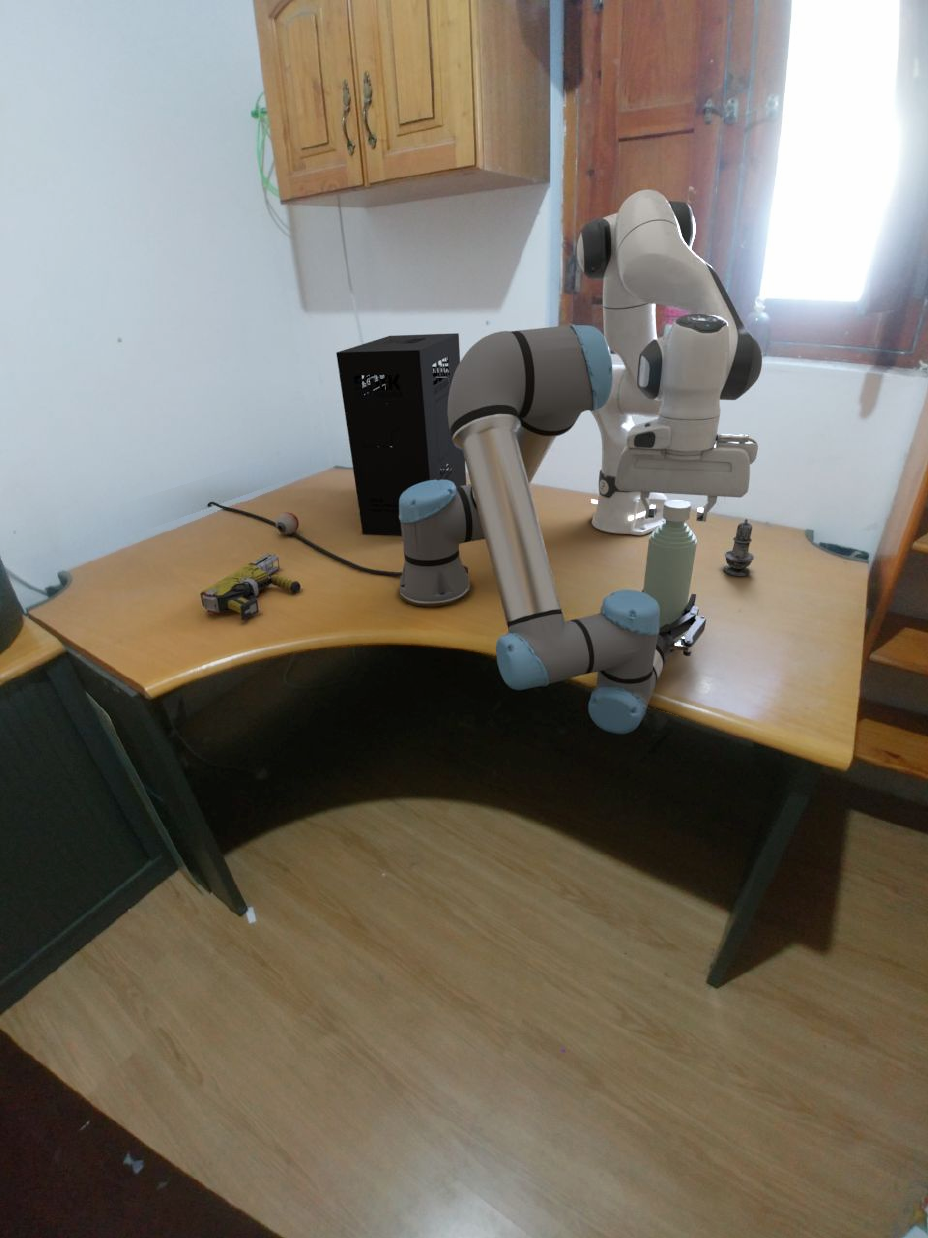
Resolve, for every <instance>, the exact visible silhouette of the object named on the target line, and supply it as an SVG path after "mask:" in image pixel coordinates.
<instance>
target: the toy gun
mask: <svg viewBox="0 0 928 1238" xmlns="http://www.w3.org/2000/svg"><path fill="white" fill-rule="evenodd" d="M275 562H277V564H278V565H277V566H276V565H274V563H275ZM280 568H281V567H280V558H279V556H278V555H277V554H272V553H270V552H269V553H267V554H265V555H263V556H261V557H260V558H258V559H257V560H255V561H253V562H250V563H248V564H246V565H244V566H243V567H240V568H239V569H238V570H236V571H234V572H233V573H231V574H229V575H228V576H226V577H223V579H221V580H218V581H217V582H216V583H214V584H212V585H210V586H209V587H207V588H205V589H204V590H202V591H201V592H200V594H199V595H200V599H201V604H202V607H203V608H204V610H206V612H207V613H211V614H212V615H213V614H214V615H215V614H216V613H220V614H222V613H228V612H231V611H234V612H237V613H239V614H240V615H241V620H243V621H245V620H247V619H249V618H251V617H252V616H254V615H257V614H259V612H260V609H259V602H258V599H257V597H258V596H259V594H260V592H259V591H261V590H263V589H265V588H267V587H269V586H270V585H274V586H277V587H278V588H282V589H285V590H286V591H290V592H292V593H294V594H295V593H298V592H299V591H300V590H301V584H300V582H299V581H297V580H292V579H288V578H287V577H284V576H280V575H279V574H274V573H275V572H276V571H277V570H279V569H280ZM271 574H274V575H273V576H271V577H270V576H269V575H271Z"/></svg>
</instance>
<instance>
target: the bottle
mask: <svg viewBox="0 0 928 1238" xmlns="http://www.w3.org/2000/svg"><path fill="white" fill-rule="evenodd" d="M697 544H698V539H697V536H696V534H695V533H694V531H693V530H692V529H691V527H690V526H688V524H687V522H686V521H683V522H672V521H668V520H666V521H664V522H663V524H661V525H660V526H659V527H658V528H656V529H655V530H654V531H652V532H650V535H649V537H648V543H647V553H646V554H647V555H646V562H645V569H644V579H643V588H642V590H643V593H646V594H648V595H650V596H651V597H652V598H654V599H655V600H656V601H657V603H658V605H659V608H660V624H659V627H662V626H664V625H665V624H671V623H673V622H674V621H676V620H678V619H679V618H681V617H682V616H684V615H685V609H686V607H687V604H688V602H689V598H690V590H691V583H692V577H693V576H692V575H693V571H694V564H695V558H696V557H695V556H696V550H697ZM683 634H684V633H683ZM683 634H681V635H680V636H678V637H677V638H675V639H674V641H675V642H678V641H679V640H681V637H684V636H683Z"/></svg>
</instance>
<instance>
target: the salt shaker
mask: <svg viewBox="0 0 928 1238" xmlns="http://www.w3.org/2000/svg"><path fill="white" fill-rule="evenodd" d="M735 532H736V533H735V536H734V537H733V539H732V540H733V541H734V542H733V547H732V549H731V550H728V551H726V552H725V553H724V558H725V562H726V564H727V565H726V566H724V567H723V572H724V573H726V574H728V575H730V576H734V577H735V576H736V577H745V576H748V575H749V574H750V572H751V571H750V570H749V568H748V567H749V566H751V564H752V562H753V561H754V560H755V556H754V554H752V553H750V551H749V550H750V549H749V548H750V543H752V541H753V540H752V532H753V525H752V524H751V523H749V520H748V519H747V518H745V519H744V521H743V522H740V523H738V524H737V527H736V531H735Z"/></svg>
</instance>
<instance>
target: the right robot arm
mask: <svg viewBox="0 0 928 1238" xmlns="http://www.w3.org/2000/svg"><path fill="white" fill-rule="evenodd" d="M695 235H696V221H695V217H694V213H693V210H692V208H691V206H690V205H689V203H687V202H686V201H682V200H667V198H666V197H665V196H664V195H663V194H662V193H661V192H660V191H658V190H655V189H641V190H639V191H636V192H634V193H632V194H631V195H629V196H628V197H627V198H626V199H625V200H624V201H623V202H622V204H621V206H620V207H619V209H618V211H617V212H614V213H613V214H609V215H606V216H604V217H601V216H598V217H596V218H593V219H591V220H589V221H587V222H586V223H584V225H583V227H582V228H581V229H580V231H579V237H578V240H577V245H576V259H577V261H578V265H579V267H580V269H581V271H582V274H583V275H584V276H585V277H586V278H587V279H589V280H596V281H597V280H599V281H600V280H602V281H603V284H602V316H603V318H602V319H603V336H604V338H605V340H606V342H607V344H608V347H609V350H610V351H612V352H613V353H615V355H617V356H618V358H620V360H621V362H622V363H623V364H612V374H613V380H612V388H611V393H610V396H609V399H608V401H607V403H606V404H605V405H604V406H603V407H602V408H600V409H596V410H595V411H590V410H589V412H590V414H591V415H592V416H593V418H594V420H595V422H596V424H597V426H598V430H599V433H600V438H601V468H600V470H599V474H598V492H599V493H598V498H597V499H592V498H591V499H590V501H591V502H590V503H591V504H595V505H596V507H595V511H594V514H593V517H592V520H591V525H592V526H593V527H594V528H595V529H597V530H599V531H601V532H605V533H611V534H623V535H625V534H626V535H632V536H633V535H634V536H645V535H646V534H650V533H652V532H653V531H654V530H655V529H656V528H658V527H659V526H660V525H661V524H663V522H664V521H666V520H665V519H664V518H663V517H662V516H663V507H664V502H665V501H668V500H669V498H668V497H667V496H666V495H665V494H672V495H685V496H686V495H687V496H688V495H689V496H706V502H707V503H706V504H705V505H704V506H703V507H697V510H696V511H697V512H696V518H695V519H696V520H695V521H696V522H701V523H703V522H705V523H706V521H707V518H708V517H707V516H708V513H709V512H710V511H711V510H712V509H713V508H714V506H715V505H716V504H717V500H718V497H721V498H722V497H723V498H738V499H739V498H743V497H744V496H745V495H747V493H748V492H749V488H750V478H751V465H753V463H754V462H756V458H757V456H758V450H759V445H758V443H757V441H756V440H755V439H754V438H752V437H750V435H747V434H739V435H734V434H729V433H728V434H726V433H724V434H722V433H718V430H719V424H720V418H721V401H736V400H738V399H740V398H741V397H742V396H743V395H744V394H746V393H747V392H748V391H749V390H750V389H751V388H752V387H753V386H754V384H756V382H757V381H758V380H759V378H760V375H761V372H762V366H763V354H762V350H761V347H760V345H759V343H758V341H757V340H756V338H755V337H754V336H753V334H752V333H751V331H749V330H748V329H747V328H746V326H745V325H744V323H743V321H742V320H741V317H740V315H739V314H738V311H737V310H736V308H735V306H734V304H733V301H732V300H731V297H730V296H729V294H728V292H727V291H726V288H725V286H724V284H723V282H722V280H721V279H720V277H719V275H718V273H717V272H716V270H715V269H714V267H713V266H712V265H711V264H709V263H708V262H707V261H705V260H704V259H702V258H701V257H699V256H698V255H697V254H696V253H695V252H694V251H693V250H692V247H693V243H694V240H695ZM656 305H657V306H664V307H670V308H674V309H678V310H682V311H685V312H686V313H689V314H685V315H682V316H679V317H677V318H676V319H675V320H674V321H673V322H672V324H671V326H670V330H669V331H668V332H667V333H666V334H665V335H663V336H661V337H659V338H658V334H657V321H656V320H657V319H656V317H657V316H656ZM632 416H633V417H641V418H642V417H643V418H653V420H652V419H651V420H649V421H645V422H642V423H641V422H640V423H638V424H635V422H634V420H633V417H632ZM654 418H656V419H654Z"/></svg>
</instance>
